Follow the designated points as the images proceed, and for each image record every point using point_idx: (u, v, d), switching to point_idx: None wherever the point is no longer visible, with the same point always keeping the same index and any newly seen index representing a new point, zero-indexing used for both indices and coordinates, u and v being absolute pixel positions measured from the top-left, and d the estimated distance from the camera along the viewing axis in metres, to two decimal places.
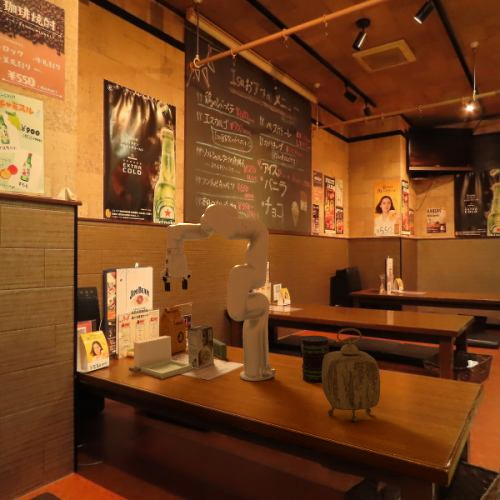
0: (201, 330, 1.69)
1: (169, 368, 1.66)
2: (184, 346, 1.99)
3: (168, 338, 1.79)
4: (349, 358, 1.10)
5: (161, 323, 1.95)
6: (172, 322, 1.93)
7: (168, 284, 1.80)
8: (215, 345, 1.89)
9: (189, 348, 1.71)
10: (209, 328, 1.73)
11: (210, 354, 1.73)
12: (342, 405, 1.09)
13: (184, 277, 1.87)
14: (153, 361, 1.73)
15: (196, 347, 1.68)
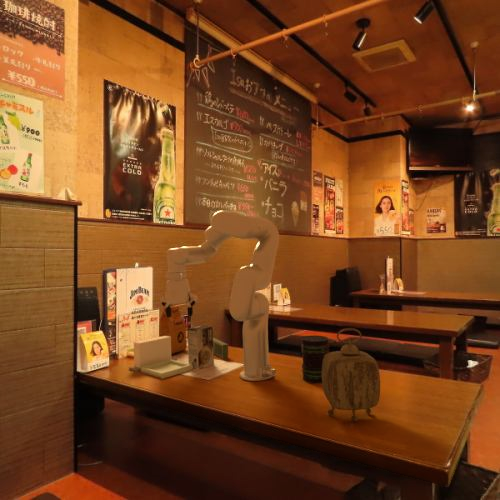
0: (201, 330, 1.69)
1: (169, 368, 1.66)
2: (184, 346, 1.99)
3: (168, 338, 1.79)
4: (349, 358, 1.10)
5: (161, 323, 1.95)
6: (172, 322, 1.93)
7: (166, 310, 1.76)
8: (216, 345, 1.89)
9: (189, 348, 1.71)
10: (209, 328, 1.73)
11: (210, 354, 1.73)
12: (342, 405, 1.09)
13: (186, 303, 1.74)
14: (153, 361, 1.73)
15: (196, 347, 1.68)
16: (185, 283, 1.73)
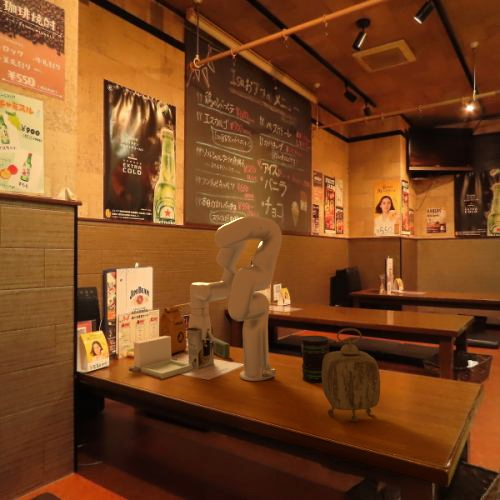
0: None
1: (169, 368, 1.66)
2: (184, 346, 1.99)
3: (168, 338, 1.79)
4: (349, 358, 1.10)
5: (161, 323, 1.95)
6: (172, 322, 1.93)
7: None
8: (217, 345, 1.89)
9: (189, 348, 1.71)
10: None
11: (210, 354, 1.73)
12: (342, 405, 1.09)
13: (203, 341, 1.70)
14: (153, 361, 1.73)
15: (196, 347, 1.68)
16: (203, 320, 1.69)
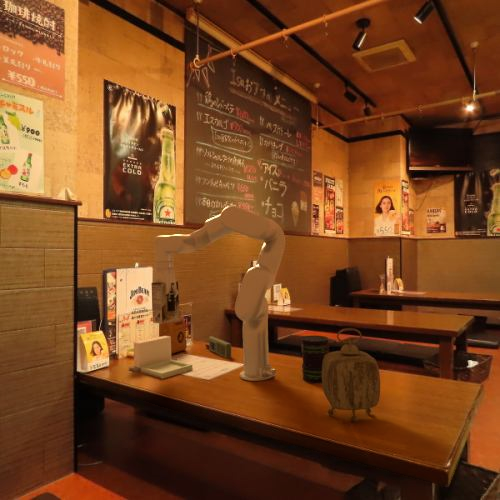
0: None
1: (169, 368, 1.66)
2: (184, 346, 1.99)
3: (168, 338, 1.79)
4: (349, 358, 1.10)
5: None
6: (172, 322, 1.93)
7: None
8: (219, 344, 1.90)
9: (153, 303, 1.64)
10: None
11: (175, 310, 1.66)
12: (342, 405, 1.09)
13: None
14: (153, 361, 1.73)
15: (159, 302, 1.61)
16: (167, 273, 1.62)
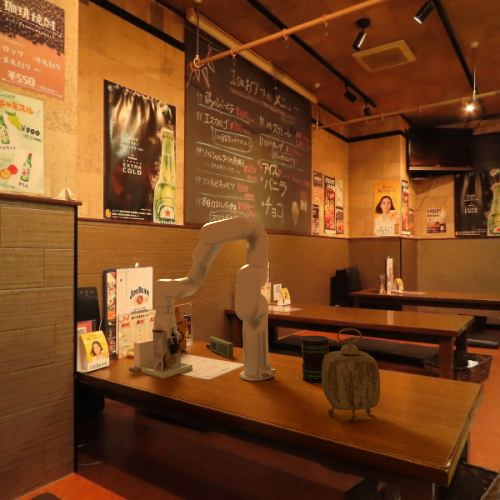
0: None
1: None
2: (184, 346, 1.99)
3: None
4: (349, 358, 1.10)
5: None
6: None
7: None
8: (220, 344, 1.90)
9: (154, 351, 1.64)
10: None
11: (176, 357, 1.65)
12: (342, 405, 1.09)
13: None
14: (153, 361, 1.73)
15: (161, 350, 1.61)
16: (168, 318, 1.61)
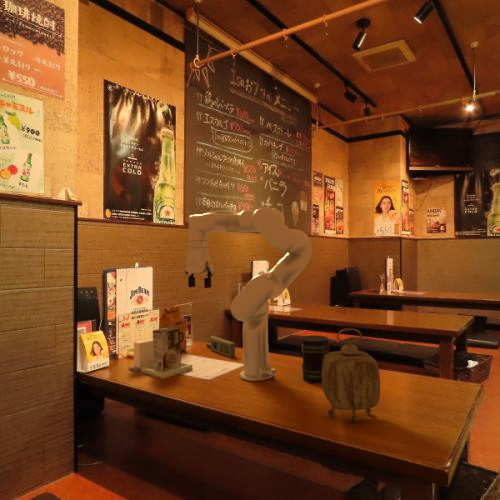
0: (166, 332, 1.62)
1: None
2: (184, 346, 1.99)
3: None
4: (349, 358, 1.10)
5: (161, 323, 1.95)
6: (172, 322, 1.93)
7: None
8: (222, 344, 1.91)
9: (154, 351, 1.64)
10: (175, 330, 1.66)
11: (176, 357, 1.65)
12: (342, 405, 1.09)
13: (203, 273, 1.63)
14: (153, 361, 1.73)
15: (160, 350, 1.61)
16: (202, 252, 1.62)
